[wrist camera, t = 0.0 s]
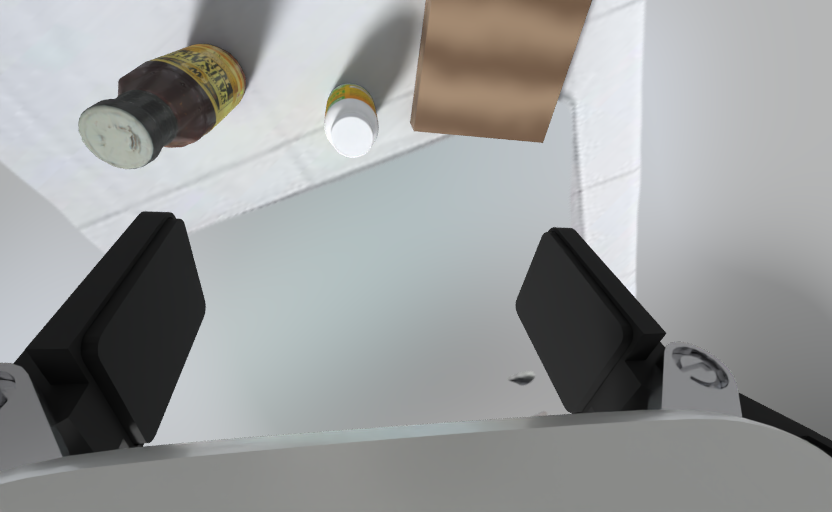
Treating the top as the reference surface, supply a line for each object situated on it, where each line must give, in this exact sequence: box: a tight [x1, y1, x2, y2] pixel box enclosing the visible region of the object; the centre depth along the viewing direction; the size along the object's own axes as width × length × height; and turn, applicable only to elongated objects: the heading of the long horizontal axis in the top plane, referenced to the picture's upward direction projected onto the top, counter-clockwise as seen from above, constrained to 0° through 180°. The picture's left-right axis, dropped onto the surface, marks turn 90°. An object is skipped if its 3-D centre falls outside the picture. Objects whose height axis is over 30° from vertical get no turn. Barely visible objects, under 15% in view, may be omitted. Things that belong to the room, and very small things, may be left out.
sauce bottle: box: [78, 44, 246, 169], centre depth 31 cm, size 6×6×20 cm
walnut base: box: [410, 0, 592, 143], centre depth 40 cm, size 16×16×3 cm
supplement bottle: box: [324, 84, 379, 158], centre depth 39 cm, size 5×5×10 cm
